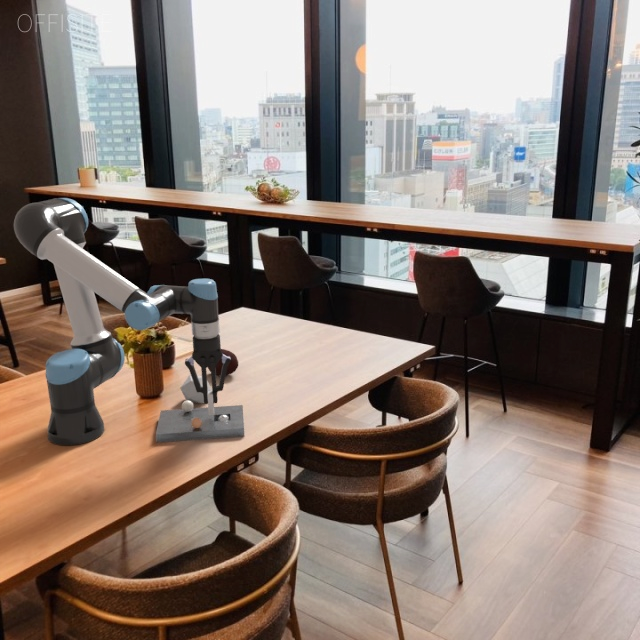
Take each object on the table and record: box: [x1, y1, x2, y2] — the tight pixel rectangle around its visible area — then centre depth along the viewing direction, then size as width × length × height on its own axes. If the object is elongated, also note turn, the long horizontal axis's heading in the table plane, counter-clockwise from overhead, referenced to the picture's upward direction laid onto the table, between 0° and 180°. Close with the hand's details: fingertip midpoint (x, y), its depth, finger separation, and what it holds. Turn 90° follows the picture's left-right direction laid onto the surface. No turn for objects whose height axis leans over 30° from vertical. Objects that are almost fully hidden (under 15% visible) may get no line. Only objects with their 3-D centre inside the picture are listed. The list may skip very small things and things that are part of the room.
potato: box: [207, 348, 239, 377], centre depth 237 cm, size 9×12×9 cm
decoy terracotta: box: [191, 418, 202, 429], centre depth 192 cm, size 3×3×3 cm
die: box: [179, 374, 212, 404], centre depth 216 cm, size 8×9×10 cm
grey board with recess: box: [155, 404, 245, 443], centre depth 198 cm, size 24×16×2 cm, turn 98°
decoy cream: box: [181, 399, 194, 412], centre depth 203 cm, size 3×3×3 cm
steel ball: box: [218, 415, 229, 421], centre depth 199 cm, size 3×3×3 cm
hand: (211, 413), depth 198 cm, fingers closed
